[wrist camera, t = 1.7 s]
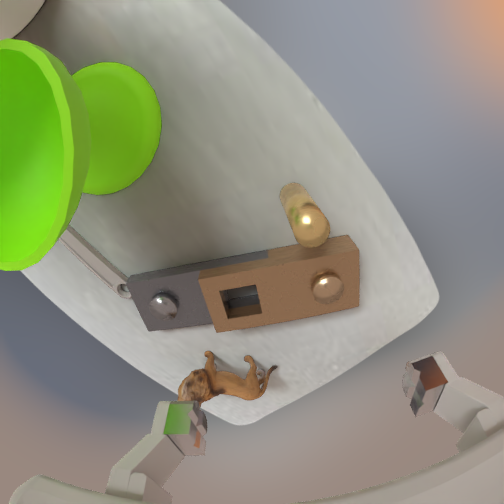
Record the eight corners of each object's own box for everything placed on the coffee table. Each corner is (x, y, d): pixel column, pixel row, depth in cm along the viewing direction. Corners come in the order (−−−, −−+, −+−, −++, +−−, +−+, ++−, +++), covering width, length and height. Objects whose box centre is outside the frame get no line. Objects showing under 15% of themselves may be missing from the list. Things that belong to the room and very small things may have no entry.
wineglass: (102, 220, 33) (18, 308, 17) (26, 138, 27) (-79, 177, 11) (192, 124, 29) (130, 143, 13) (102, 36, 23) (-4, 2, 7)
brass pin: (277, 185, 32) (291, 216, 23) (304, 180, 32) (328, 210, 23) (282, 210, 33) (296, 250, 24) (308, 206, 33) (331, 243, 24)
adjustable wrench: (140, 285, 38) (137, 292, 36) (114, 306, 40) (110, 314, 38) (23, 153, 29) (15, 156, 27) (5, 185, 30) (-3, 189, 29)
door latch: (130, 275, 37) (118, 297, 32) (347, 234, 35) (362, 253, 30) (152, 322, 40) (143, 346, 36) (349, 288, 38) (361, 311, 34)
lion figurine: (185, 370, 45) (177, 414, 37) (182, 347, 43) (172, 394, 35) (275, 373, 46) (280, 418, 38) (279, 351, 43) (285, 398, 35)
